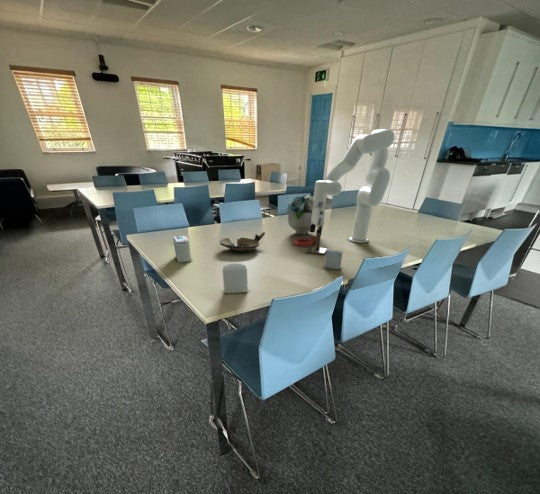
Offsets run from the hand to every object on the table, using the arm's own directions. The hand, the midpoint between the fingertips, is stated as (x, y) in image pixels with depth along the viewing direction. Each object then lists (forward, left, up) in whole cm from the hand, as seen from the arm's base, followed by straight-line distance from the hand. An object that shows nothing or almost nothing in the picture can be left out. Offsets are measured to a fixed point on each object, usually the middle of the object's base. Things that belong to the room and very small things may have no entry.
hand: (315, 234), depth 196 cm
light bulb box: (+62, -58, -6) cm, 85 cm away
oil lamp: (+32, -35, -6) cm, 48 cm away
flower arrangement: (-22, -14, -6) cm, 27 cm away
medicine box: (+43, +20, -6) cm, 47 cm away
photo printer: (+91, -13, -6) cm, 92 cm away
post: (+18, +6, -6) cm, 19 cm away
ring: (+3, -4, -6) cm, 8 cm away
